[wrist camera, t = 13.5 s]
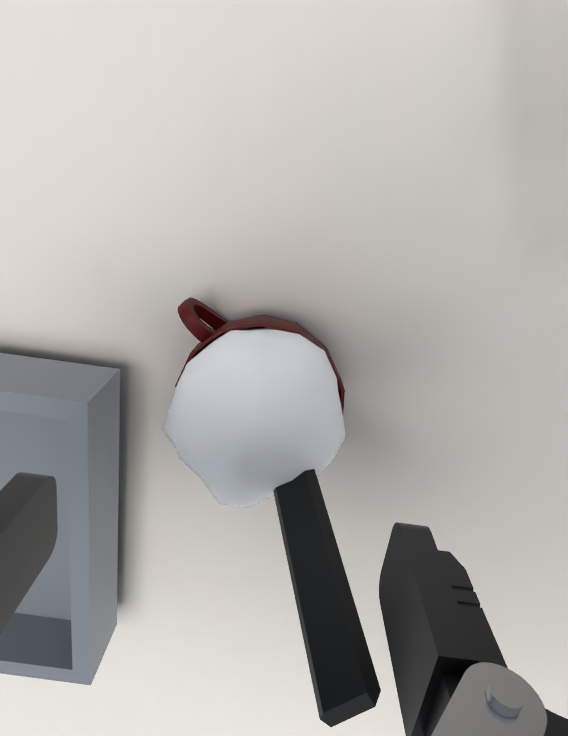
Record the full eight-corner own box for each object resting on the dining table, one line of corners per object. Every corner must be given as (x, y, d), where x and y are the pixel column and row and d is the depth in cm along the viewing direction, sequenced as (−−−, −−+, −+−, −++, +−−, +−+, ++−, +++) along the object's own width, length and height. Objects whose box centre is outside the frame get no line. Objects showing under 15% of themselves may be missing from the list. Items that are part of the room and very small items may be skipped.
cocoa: (172, 294, 21) (-9, 405, 10) (319, 257, 20) (302, 334, 9) (235, 487, 24) (148, 748, 13) (366, 464, 23) (400, 724, 12)
